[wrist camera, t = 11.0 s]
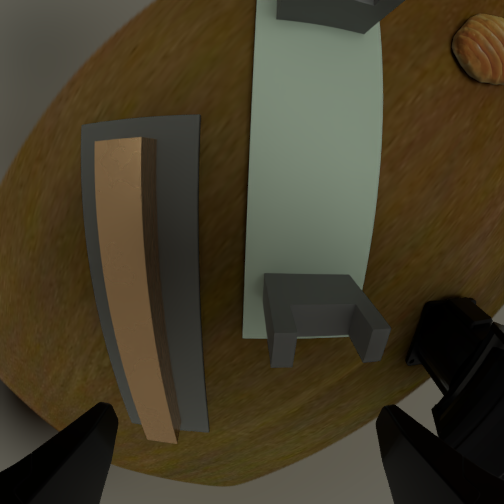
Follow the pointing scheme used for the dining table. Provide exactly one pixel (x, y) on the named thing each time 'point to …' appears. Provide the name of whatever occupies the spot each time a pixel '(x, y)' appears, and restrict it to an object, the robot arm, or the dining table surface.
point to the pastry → (481, 48)
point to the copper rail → (136, 278)
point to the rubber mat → (170, 252)
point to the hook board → (314, 174)
